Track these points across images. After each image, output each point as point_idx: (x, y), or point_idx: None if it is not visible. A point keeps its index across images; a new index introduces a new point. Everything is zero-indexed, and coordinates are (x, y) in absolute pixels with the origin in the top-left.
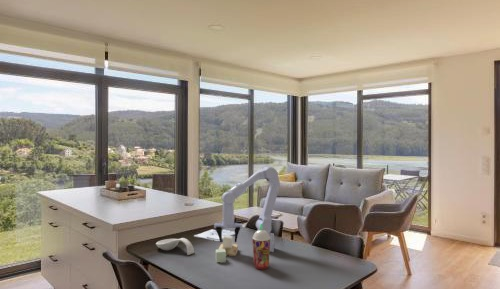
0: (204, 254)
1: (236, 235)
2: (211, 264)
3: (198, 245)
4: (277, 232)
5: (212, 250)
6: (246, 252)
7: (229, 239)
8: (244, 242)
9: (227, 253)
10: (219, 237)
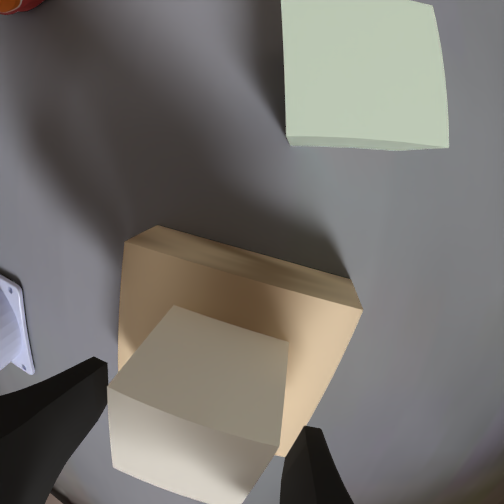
0: (464, 326)
1: (15, 400)
2: None
3: (421, 482)
4: None
5: (369, 410)
6: (73, 293)
7: (153, 393)
8: None
9: (243, 256)
10: (337, 481)
